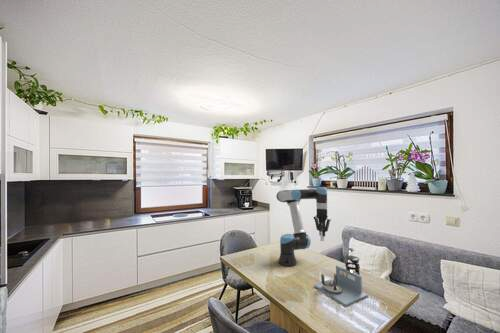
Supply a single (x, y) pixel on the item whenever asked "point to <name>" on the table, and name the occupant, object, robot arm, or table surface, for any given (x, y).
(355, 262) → the french press
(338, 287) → the capstan
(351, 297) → the stand
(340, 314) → the table surface
